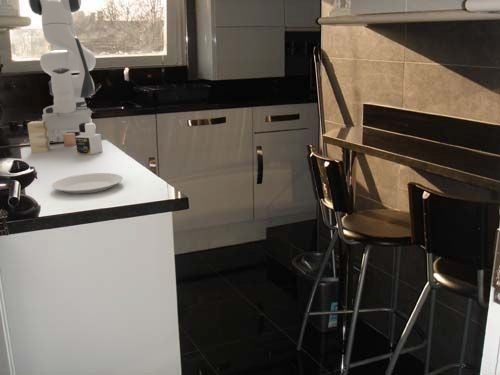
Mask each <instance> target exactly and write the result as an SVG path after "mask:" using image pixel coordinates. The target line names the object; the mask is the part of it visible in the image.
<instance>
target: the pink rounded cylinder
mask: <svg viewBox="0 0 500 375" xmlns="http://www.w3.org/2000/svg"><path fill="white" fill-rule="evenodd" d="M75 137H76V132H67V133H66V134H63V139H64V141H63V145H64V147H69V148H70V147H74V146H76V139H75Z"/></svg>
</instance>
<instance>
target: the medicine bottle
mask: <svg viewBox="0 0 500 375" xmlns="http://www.w3.org/2000/svg"><path fill="white" fill-rule="evenodd" d="M95 127H96V123H94V122H93V121H92V122H86V123H81V124H79V131H80V132H79V135H75V139H76V147H75V148H76V153H77V155H83V156H84V155H85V156H91V155H95V154H99V153H102V152H103V141H102V135H101V133H96V129H95Z"/></svg>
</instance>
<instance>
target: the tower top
mask: <svg viewBox="0 0 500 375" xmlns="http://www.w3.org/2000/svg"><path fill="white" fill-rule="evenodd" d="M26 124H27V132H28V134H29V133H44V132H46V131H47V123H46V121H42V120H35V121H32V120H31V121H29V122H28V123H26Z"/></svg>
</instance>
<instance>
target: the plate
mask: <svg viewBox="0 0 500 375" xmlns="http://www.w3.org/2000/svg"><path fill="white" fill-rule="evenodd" d="M123 179H124V177H123V176H122V175H120V174H117V173H109V172H108V173H107V172H105V173H104V172H97V173H95V172H94V173H85V174H84V173H83V174H78V175H73V176H68V177H64V178H60V179H58V180H56V181H54V182H53V183H52V184H51V187H52V188H53V189H54V190H57V191H62V192H65V193H67V194H75V195H83V194H94V193H98V192H102V191H105V190H108V189H111V188H112V187H113V186H115V185H117V184H119V183H121V182H122V181H123Z"/></svg>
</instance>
